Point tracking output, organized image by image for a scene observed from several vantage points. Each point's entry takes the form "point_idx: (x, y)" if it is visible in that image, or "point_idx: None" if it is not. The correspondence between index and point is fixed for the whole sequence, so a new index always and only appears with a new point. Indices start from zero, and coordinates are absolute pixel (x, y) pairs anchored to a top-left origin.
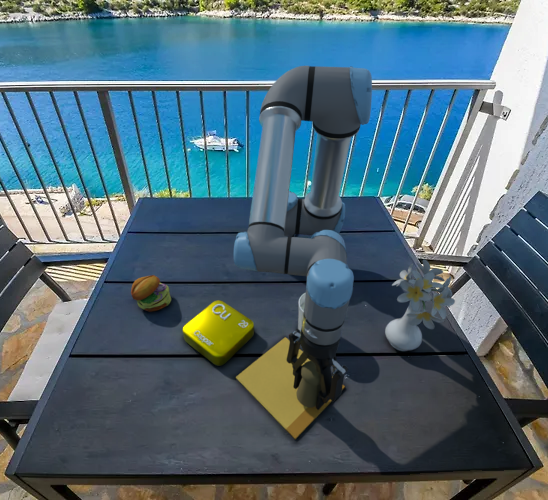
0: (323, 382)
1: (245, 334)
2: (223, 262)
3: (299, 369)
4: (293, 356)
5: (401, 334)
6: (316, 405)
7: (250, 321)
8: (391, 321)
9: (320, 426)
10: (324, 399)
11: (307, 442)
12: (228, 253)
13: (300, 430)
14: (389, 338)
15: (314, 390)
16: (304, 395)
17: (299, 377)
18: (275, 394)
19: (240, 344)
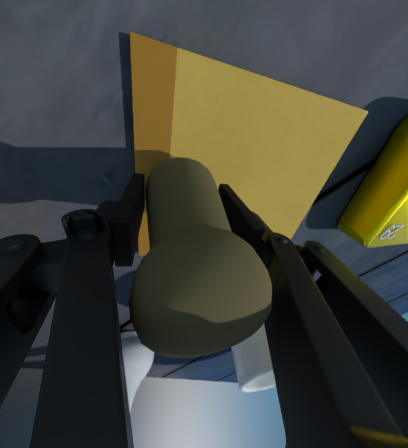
0: (65, 344)
1: (382, 217)
2: (395, 276)
3: (254, 244)
4: (329, 291)
5: None
6: (141, 179)
7: (373, 244)
8: (149, 368)
9: (109, 142)
10: (109, 211)
11: (94, 59)
12: (388, 287)
13: (138, 80)
14: (135, 350)
15: (157, 216)
16: (186, 177)
17: (233, 217)
18: (256, 140)
19: (374, 191)
